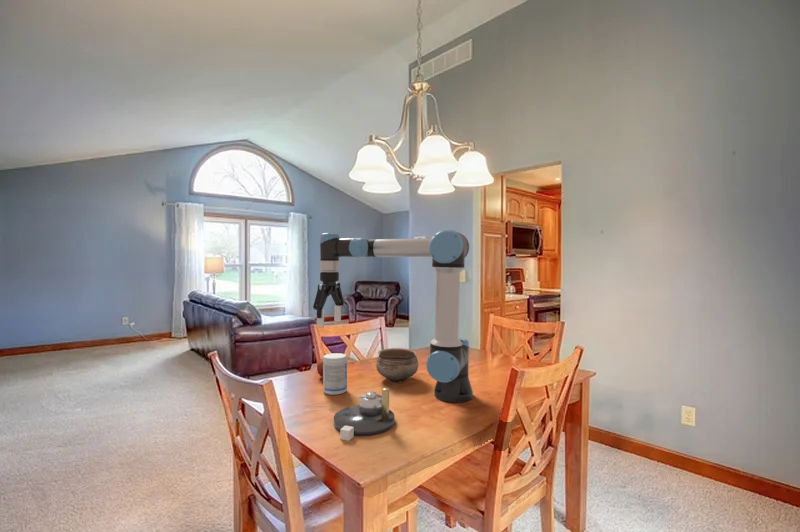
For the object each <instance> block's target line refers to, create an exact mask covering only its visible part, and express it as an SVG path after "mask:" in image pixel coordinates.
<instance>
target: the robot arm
mask: <svg viewBox="0 0 800 532" xmlns="http://www.w3.org/2000/svg"><path fill="white" fill-rule="evenodd" d="M319 249H320V252H319V253H320V254H319V255H320V258H319V259H320V263H319V265H320V267H319V269H320V272H319V281H321V282H322V284H321V283H319V284H318V285H317V290H316V291H317V292H316V294H315V298H314V302H313V305H312V306H313V307H312V308H313V310H316V327H321V328H323V327H325V310H324V306H325V304H326V302H327V299H328V297H329V296H331V298H332V300H333V302H334V307H333V308H334V312H333V313H334V315H333V316H334V318H333V319H334V322H341V321H342V307H343V306H344V303H345V299H344V296H343V293H342V288H341V282H339V281H340V273H339V271H340V258H432V259H431V260H432V261H431V268H432V269H433V270H434V271H435V305H434V306H435V310H434V312H435V314H434V337H433V339H431V340H430V343H429V344H430V346H429V347H430V348H429V356H428V357H427V358H426V363H425V364H426V365H425V366H426V371H427V372H428V374H429V376H430V377H431V378H432V379H434V380H435V381H436V383H435V386H434V391H433V392H434V394H433V395H434V397H435V398H436V399H438V400H441V401H443V402H447V403H464V402H469V401H470V400H472V399H473V398H474V397H473V393H474V392H473V388H472V385H471V382H470V379H469V368H470V367H469V362H470V361H469V360H470V359H469V358H470V357H469V355H470V354H469V353H470V352H469V351H470V345H469V343H470V342H469V340H468V339H466V338H461V337H459V328H460V327H459V323H460V322H459V321H460V290H461V288H460V285H461V284H460V283H461V281H460V279H461V277H460V276H461V272H462V271H463V270H465V261H466V260H465V258H466V257H467V256H468V254H469V251H470V243H469V240H468V239H467V237H466V236H465V235H463V234H462V233H461V232H458V231H456V230H452V229H451V230H450V229H446V230H440V231H438V232H437V233H435V234H434V235H433V236H432V237H428V238H421V237H420V238H382V239H381V238H378V239H376V238H375V239H373V238H372V239H369V238H368V239H367V238H363V237H347V238H346V237H344V238H342V237H340V234H339V233H335V232H333V233H332V232H324V233H321V235H320V241H319Z"/></svg>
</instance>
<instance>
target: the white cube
mask: <svg viewBox="0 0 800 532" xmlns="http://www.w3.org/2000/svg"><path fill="white" fill-rule="evenodd" d="M339 435H340V436H339V437H340V438H339V439H340V440H343V441H347V442H350V441H351V440H352V439H353V438H354V437H355V435H354V427H351V426H344V427H343V428H341V429H340V431H339Z"/></svg>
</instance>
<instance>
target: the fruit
mask: <svg viewBox="0 0 800 532" xmlns="http://www.w3.org/2000/svg"><path fill="white" fill-rule="evenodd" d="M316 370H317V373H318V375H319V376H320V377H321V378H323V358H322V359H319V361H318V362H317V365H316Z"/></svg>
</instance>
